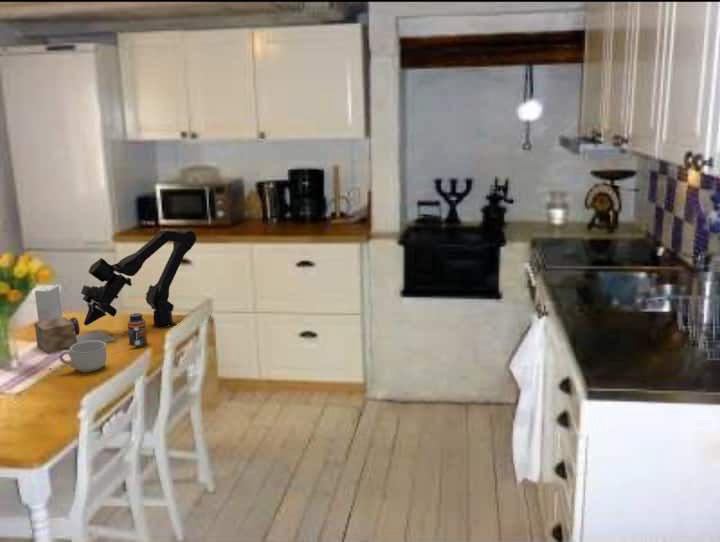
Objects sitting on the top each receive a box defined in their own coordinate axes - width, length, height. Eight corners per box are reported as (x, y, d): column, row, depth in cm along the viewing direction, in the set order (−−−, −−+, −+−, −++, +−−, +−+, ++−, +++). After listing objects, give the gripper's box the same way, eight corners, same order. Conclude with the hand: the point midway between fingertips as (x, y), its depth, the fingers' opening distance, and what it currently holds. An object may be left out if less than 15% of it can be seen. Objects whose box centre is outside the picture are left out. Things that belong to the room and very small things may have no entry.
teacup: (108, 361, 223) (105, 338, 222) (108, 372, 213) (106, 347, 212) (62, 367, 218) (59, 344, 217) (60, 379, 209) (57, 354, 207)
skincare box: (49, 320, 273) (45, 285, 270) (64, 320, 273) (59, 284, 270) (38, 327, 265) (33, 290, 262) (53, 327, 265) (48, 290, 261)
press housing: (67, 339, 244) (64, 317, 242) (77, 346, 236) (74, 323, 234) (37, 346, 238) (34, 323, 236) (47, 353, 230) (43, 329, 228)
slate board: (101, 333, 254) (100, 330, 254) (116, 342, 243) (116, 339, 243) (36, 347, 240) (35, 345, 239) (49, 357, 228) (48, 355, 228)
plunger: (74, 333, 243) (72, 315, 242) (80, 336, 239) (78, 319, 237) (43, 339, 237) (40, 322, 235) (48, 343, 232) (46, 325, 230)
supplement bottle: (142, 348, 235) (138, 317, 233) (126, 348, 236) (123, 316, 234) (150, 343, 241) (147, 312, 238) (135, 342, 242) (132, 312, 240)
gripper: (84, 272, 249) (57, 308, 244) (103, 280, 235) (75, 318, 230) (108, 289, 255) (82, 324, 251) (128, 298, 242) (101, 334, 237)
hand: (84, 324), depth 242 cm, fingers closed
